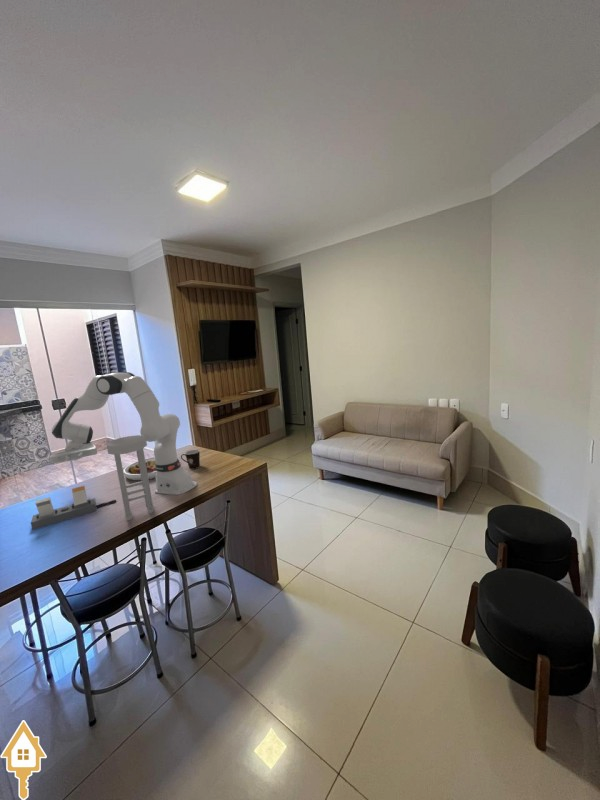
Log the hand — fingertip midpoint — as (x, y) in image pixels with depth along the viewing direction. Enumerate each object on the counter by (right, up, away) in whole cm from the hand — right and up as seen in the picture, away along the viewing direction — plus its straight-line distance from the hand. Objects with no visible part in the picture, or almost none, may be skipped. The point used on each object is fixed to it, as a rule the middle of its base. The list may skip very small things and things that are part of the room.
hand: (73, 458), depth 157 cm
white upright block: (+8, -21, -6) cm, 23 cm away
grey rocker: (-2, -23, -13) cm, 27 cm away
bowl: (+21, -16, +39) cm, 47 cm away
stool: (+38, -23, -10) cm, 46 cm away
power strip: (+7, -25, -7) cm, 27 cm away
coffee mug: (+45, -14, +42) cm, 64 cm away
